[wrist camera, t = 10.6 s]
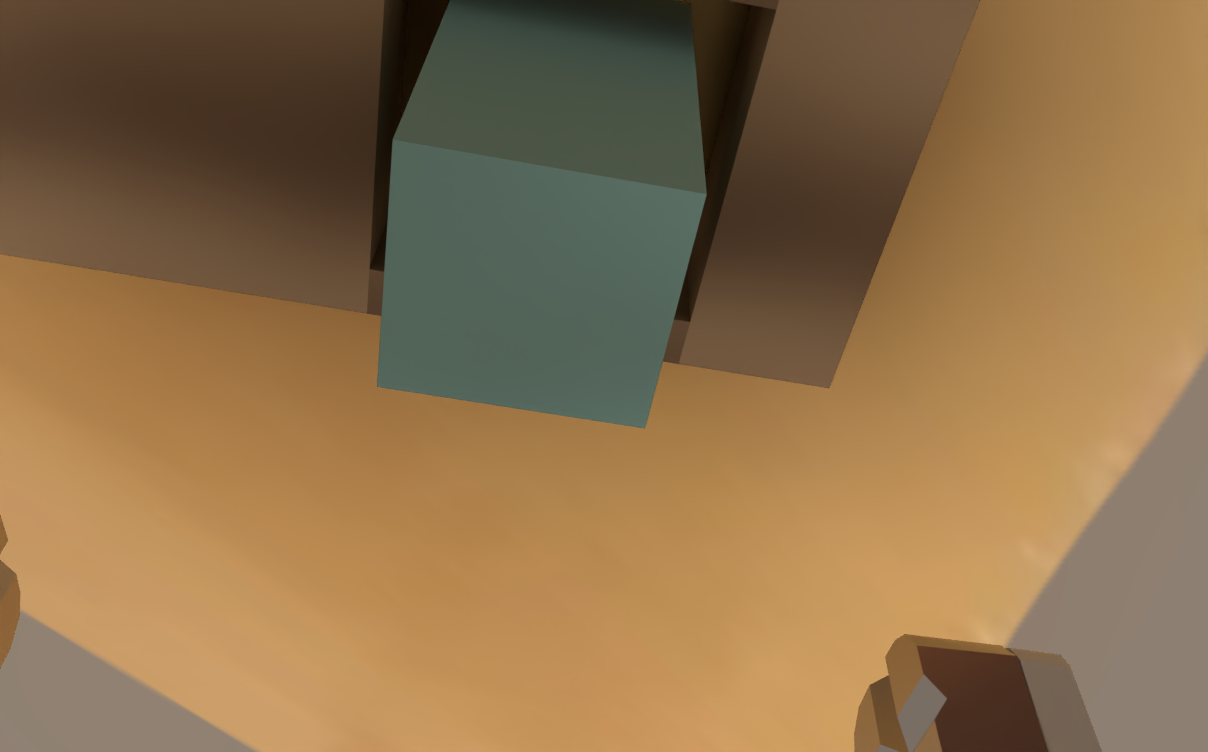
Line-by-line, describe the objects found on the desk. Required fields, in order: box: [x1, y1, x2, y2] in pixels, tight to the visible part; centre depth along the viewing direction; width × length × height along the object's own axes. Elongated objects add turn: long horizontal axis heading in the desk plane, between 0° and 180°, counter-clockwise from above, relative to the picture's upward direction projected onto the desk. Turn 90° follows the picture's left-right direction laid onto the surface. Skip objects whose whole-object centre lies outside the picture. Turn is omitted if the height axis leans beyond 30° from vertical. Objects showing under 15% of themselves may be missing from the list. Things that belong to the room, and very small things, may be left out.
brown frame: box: [0, 0, 980, 388], centre depth 19 cm, size 8×18×2 cm, turn 80°
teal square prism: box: [377, 0, 707, 428], centre depth 18 cm, size 4×4×7 cm
